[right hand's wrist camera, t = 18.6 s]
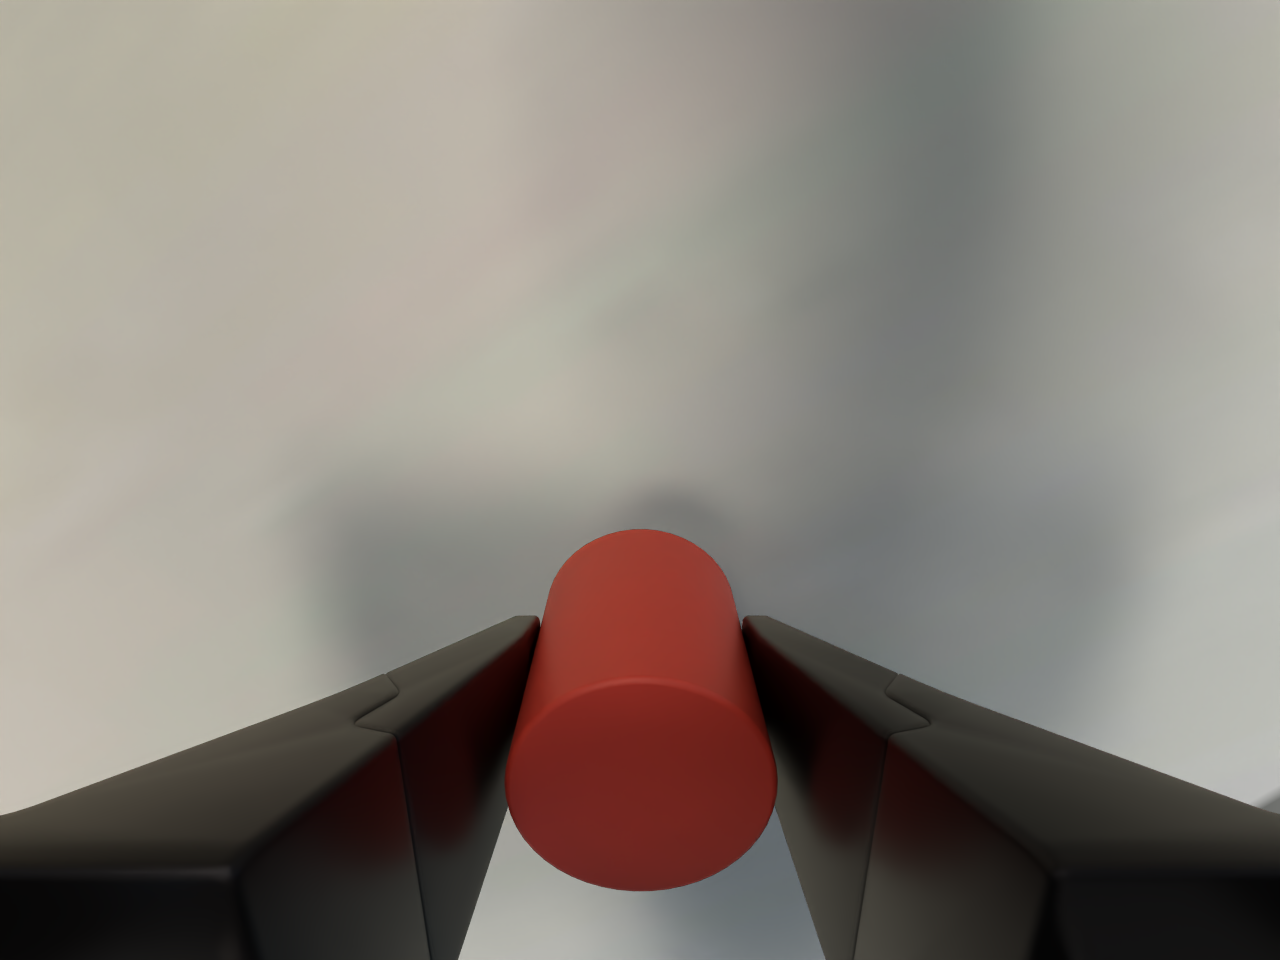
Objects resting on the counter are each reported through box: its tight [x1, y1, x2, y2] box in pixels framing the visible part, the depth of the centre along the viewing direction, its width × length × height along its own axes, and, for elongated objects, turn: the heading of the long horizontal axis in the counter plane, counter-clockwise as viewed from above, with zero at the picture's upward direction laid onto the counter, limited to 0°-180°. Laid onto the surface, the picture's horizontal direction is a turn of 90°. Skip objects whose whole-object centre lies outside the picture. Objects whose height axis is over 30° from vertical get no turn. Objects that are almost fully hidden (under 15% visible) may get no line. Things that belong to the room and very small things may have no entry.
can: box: [504, 529, 778, 891], centre depth 10 cm, size 4×4×4 cm
